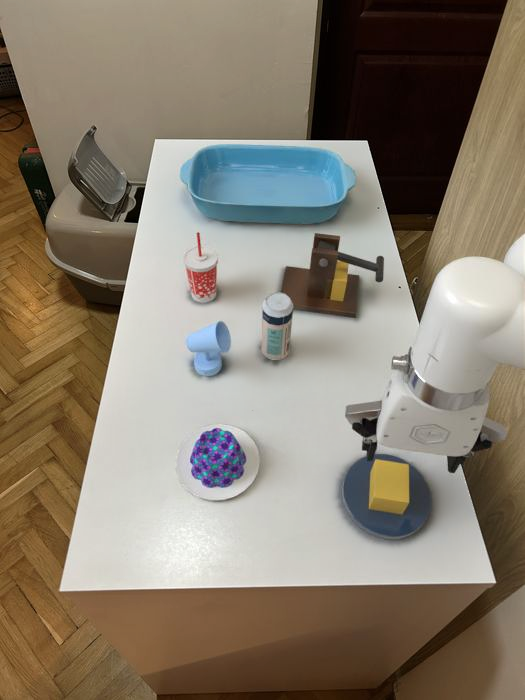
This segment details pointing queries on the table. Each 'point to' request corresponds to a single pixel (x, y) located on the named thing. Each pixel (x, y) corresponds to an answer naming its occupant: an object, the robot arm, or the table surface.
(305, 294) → the slicer
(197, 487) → the pudding
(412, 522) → the plate
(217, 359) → the spotlight
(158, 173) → the table surface
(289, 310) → the supplement bottle
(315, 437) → the table surface
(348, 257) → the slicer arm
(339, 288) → the butter
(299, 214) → the casserole dish
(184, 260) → the beverage cup
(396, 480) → the butter pat
